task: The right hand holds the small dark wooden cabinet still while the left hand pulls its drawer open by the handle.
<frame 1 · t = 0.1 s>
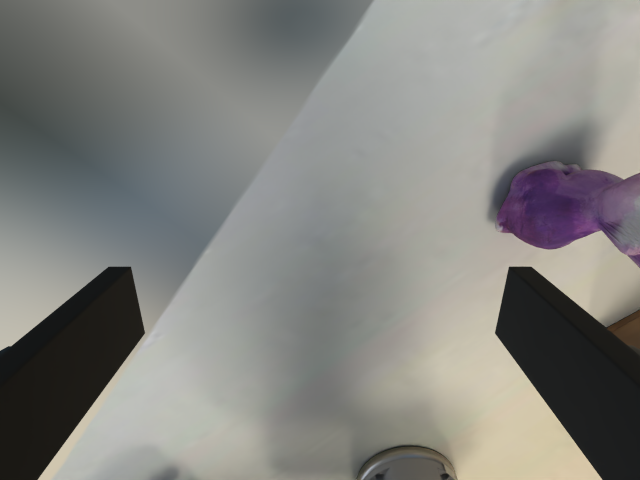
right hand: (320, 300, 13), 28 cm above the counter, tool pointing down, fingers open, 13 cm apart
figurine: (541, 192, 40), on the counter
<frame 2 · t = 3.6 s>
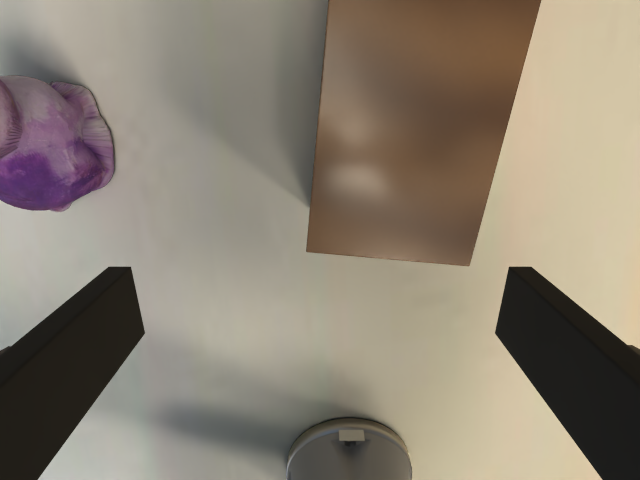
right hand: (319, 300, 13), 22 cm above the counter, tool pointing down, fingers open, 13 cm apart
cabinet: (387, 93, 30), on the counter
figurine: (67, 135, 32), on the counter
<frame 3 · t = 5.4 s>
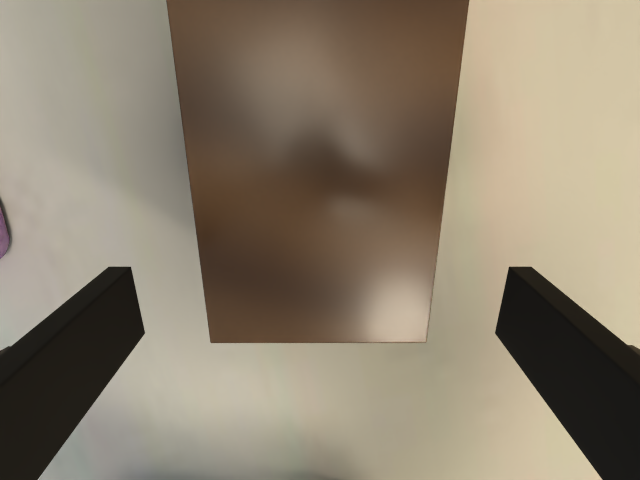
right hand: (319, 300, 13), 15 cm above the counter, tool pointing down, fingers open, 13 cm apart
cabinet: (318, 119, 25), on the counter
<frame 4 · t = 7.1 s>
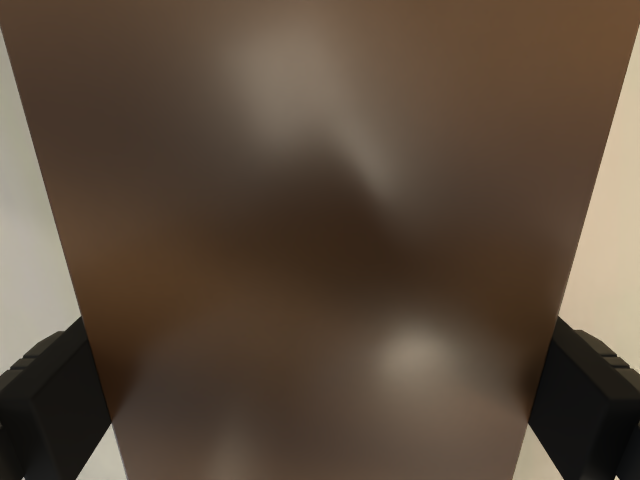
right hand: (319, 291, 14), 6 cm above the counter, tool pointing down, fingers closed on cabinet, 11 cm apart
cabinet: (319, 122, 17), on the counter, touching right hand
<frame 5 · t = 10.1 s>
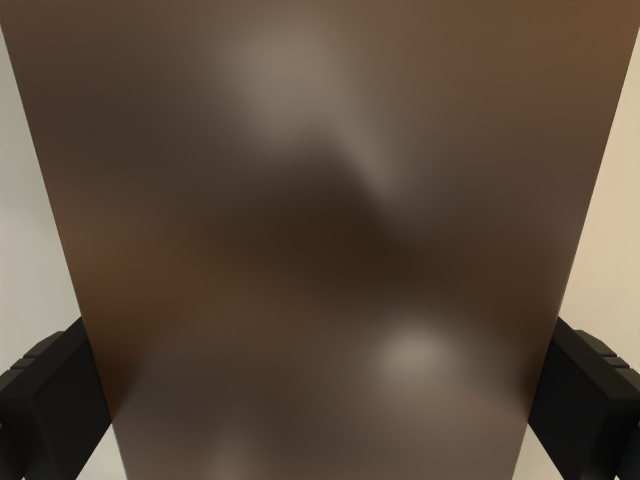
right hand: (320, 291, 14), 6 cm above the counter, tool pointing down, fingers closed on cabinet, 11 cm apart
cabinet: (319, 122, 17), on the counter, touching right hand
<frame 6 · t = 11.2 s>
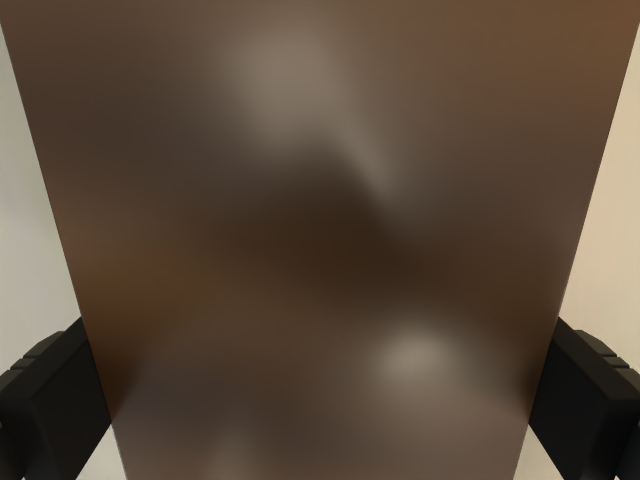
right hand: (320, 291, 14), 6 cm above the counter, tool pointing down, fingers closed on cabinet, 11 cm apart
cabinet: (319, 122, 17), on the counter, touching right hand
when the right hand's fingers open (6 cm above the counter, at t = 12.9 s): cabinet stays where it is, on the counter.
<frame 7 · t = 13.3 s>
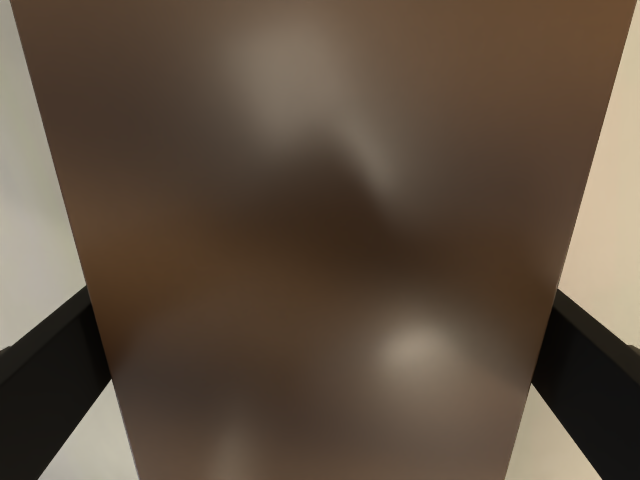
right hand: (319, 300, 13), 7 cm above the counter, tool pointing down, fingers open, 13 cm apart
cabinet: (321, 116, 17), on the counter
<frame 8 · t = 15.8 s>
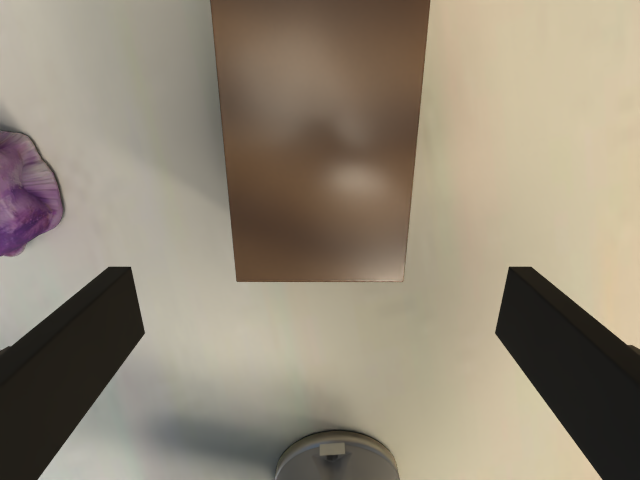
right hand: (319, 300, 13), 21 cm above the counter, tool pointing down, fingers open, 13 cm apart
cabinet: (320, 109, 30), on the counter
figurine: (14, 181, 32), on the counter
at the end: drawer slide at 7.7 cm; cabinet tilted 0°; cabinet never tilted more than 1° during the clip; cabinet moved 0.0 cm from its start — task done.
